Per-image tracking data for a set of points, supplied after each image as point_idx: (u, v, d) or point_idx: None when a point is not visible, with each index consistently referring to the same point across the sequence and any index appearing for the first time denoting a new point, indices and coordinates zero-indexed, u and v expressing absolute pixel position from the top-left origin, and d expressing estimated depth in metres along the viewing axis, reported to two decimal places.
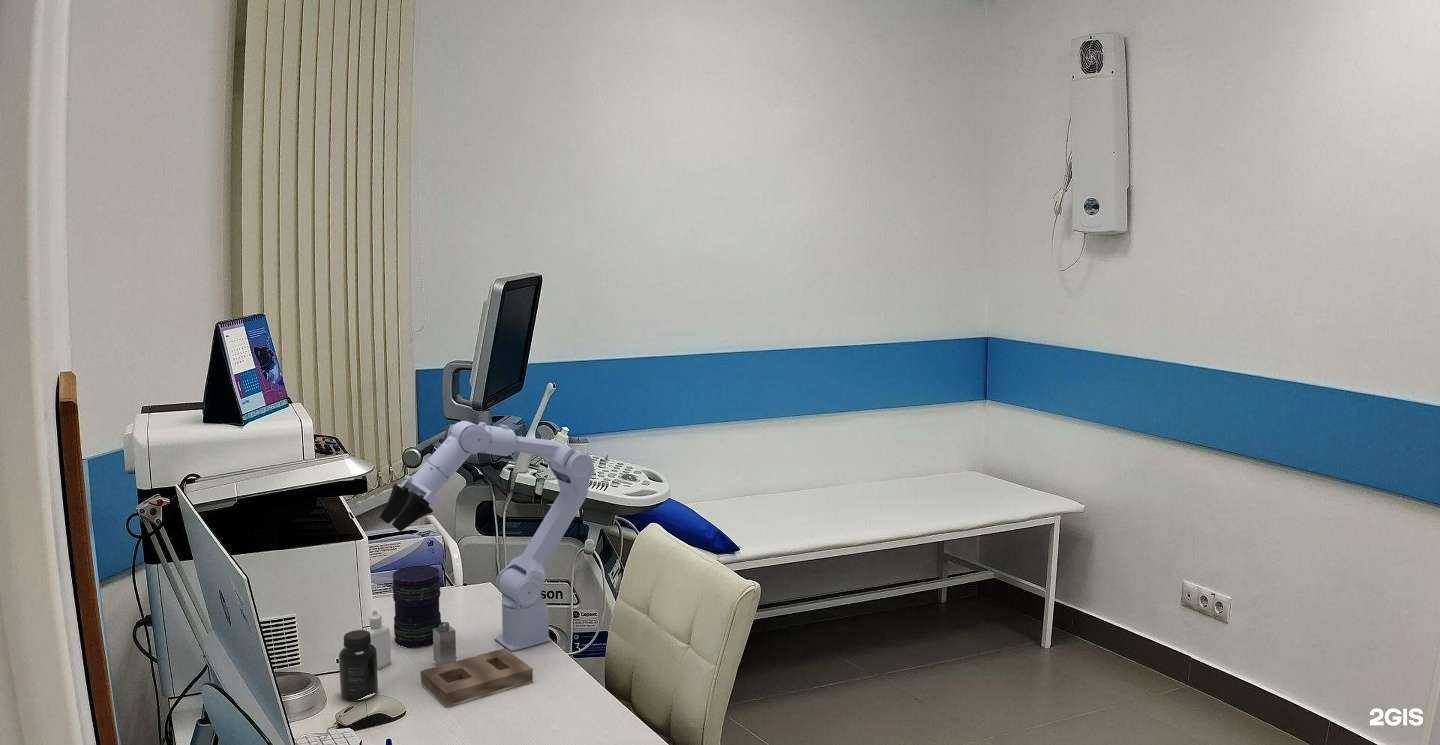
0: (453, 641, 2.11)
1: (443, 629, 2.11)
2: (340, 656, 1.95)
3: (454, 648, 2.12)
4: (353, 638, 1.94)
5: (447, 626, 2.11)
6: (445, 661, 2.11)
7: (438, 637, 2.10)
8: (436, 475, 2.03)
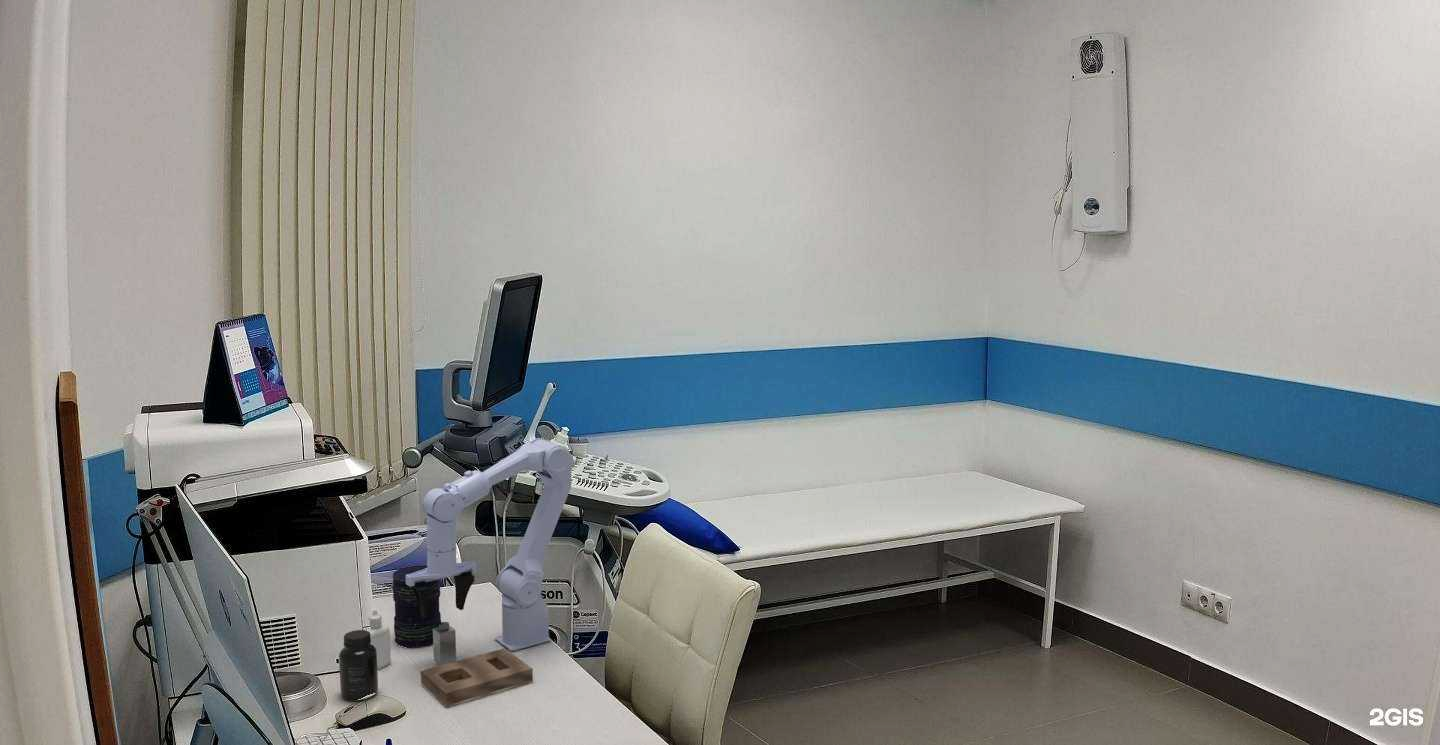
0: (453, 641, 2.11)
1: (443, 629, 2.11)
2: (340, 656, 1.95)
3: (454, 648, 2.12)
4: (353, 638, 1.94)
5: (447, 626, 2.11)
6: (445, 661, 2.11)
7: (438, 637, 2.10)
8: (427, 555, 2.08)
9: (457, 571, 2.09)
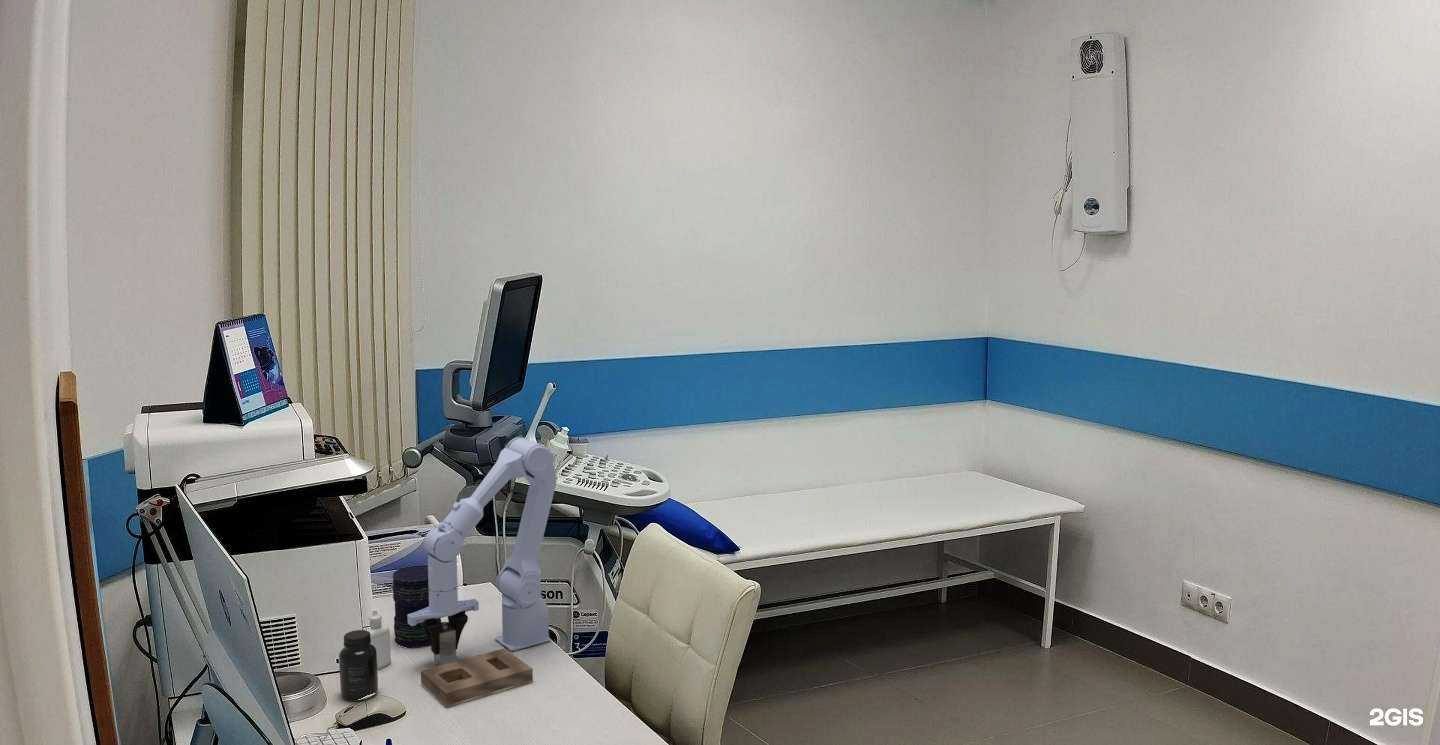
0: (453, 641, 2.11)
1: (443, 629, 2.11)
2: (340, 656, 1.95)
3: (454, 648, 2.12)
4: (353, 638, 1.94)
5: (447, 626, 2.11)
6: (445, 661, 2.11)
7: None
8: (429, 594, 2.09)
9: (458, 610, 2.10)
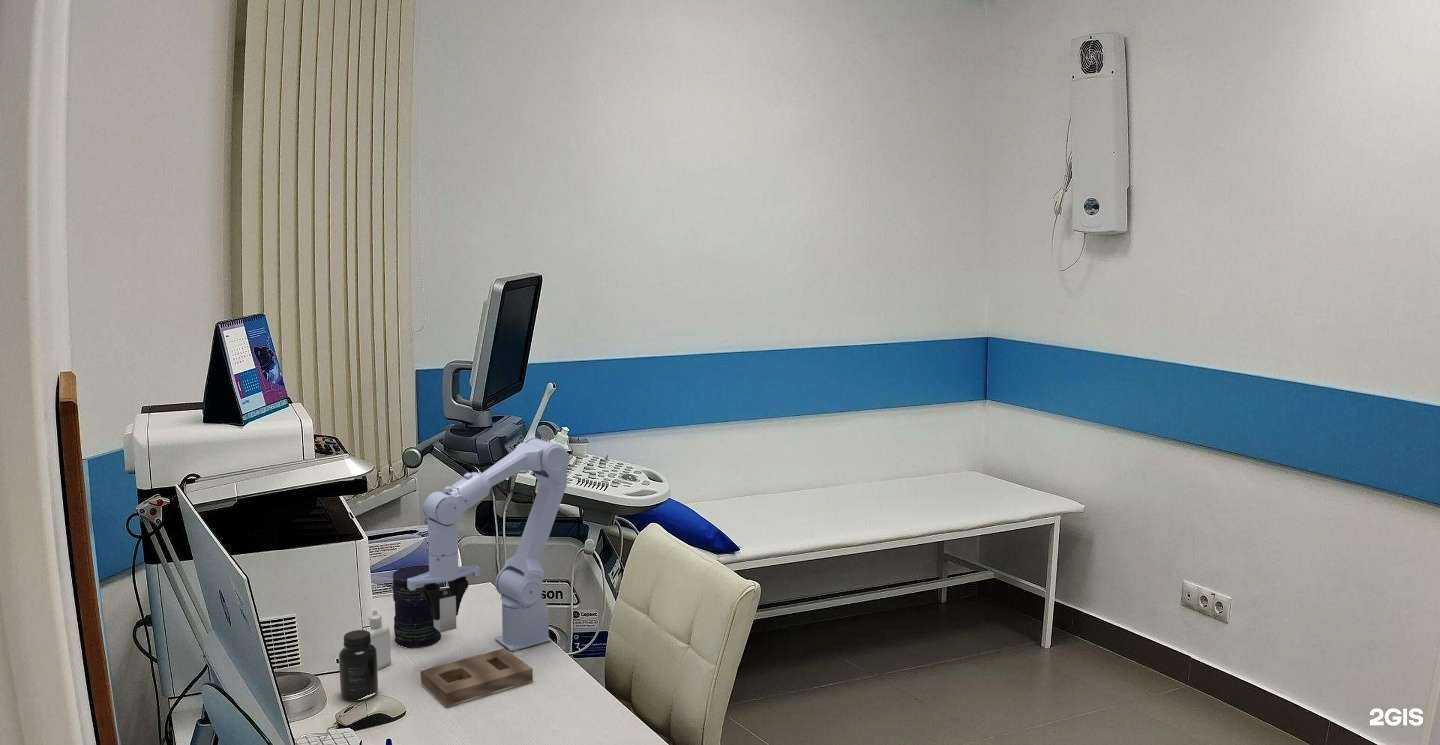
0: (453, 607, 2.09)
1: (443, 594, 2.08)
2: (340, 656, 1.95)
3: (454, 614, 2.09)
4: (353, 638, 1.94)
5: (447, 591, 2.08)
6: (445, 627, 2.08)
7: None
8: (429, 558, 2.06)
9: (459, 575, 2.08)
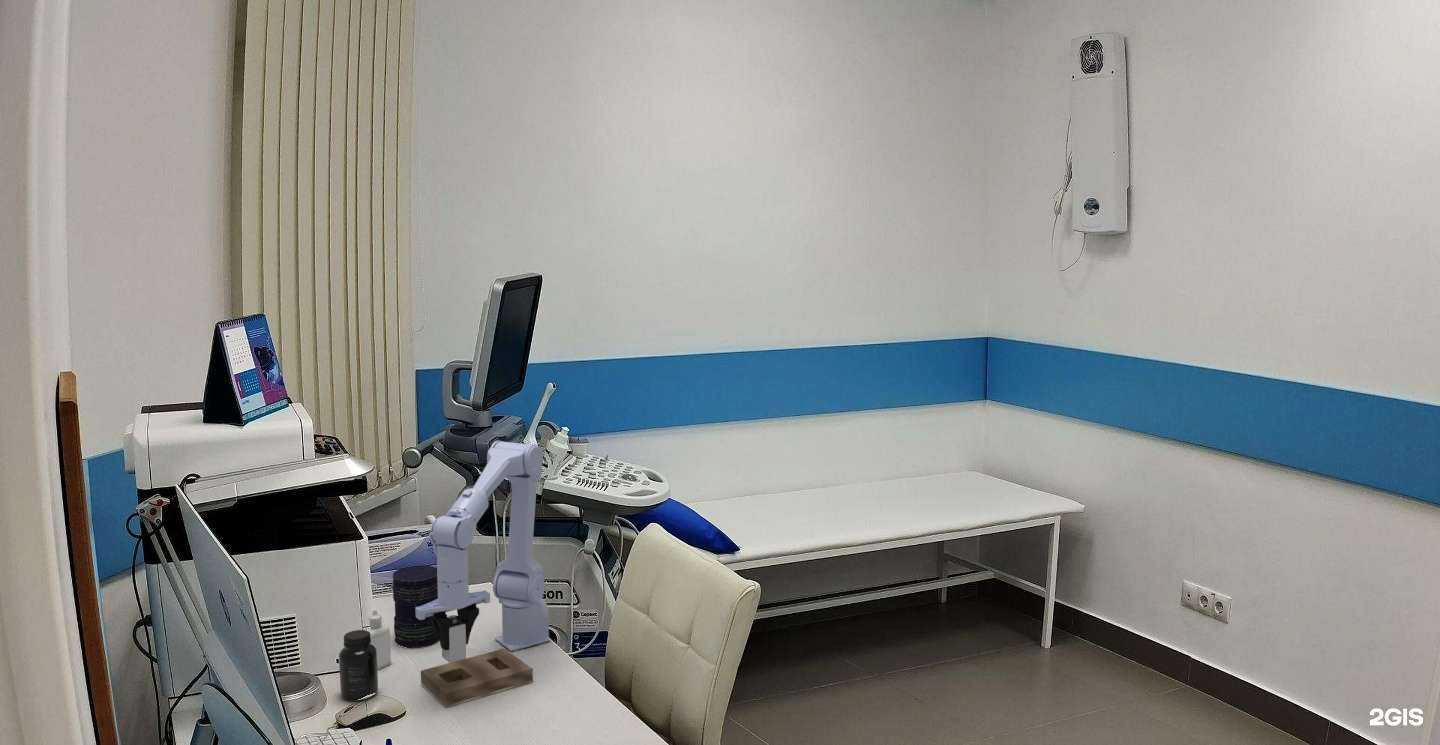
0: (463, 635, 1.98)
1: (452, 623, 1.98)
2: (340, 656, 1.95)
3: (464, 643, 1.99)
4: (353, 638, 1.94)
5: (457, 620, 1.98)
6: (455, 657, 1.98)
7: None
8: (438, 585, 1.96)
9: (470, 602, 1.97)
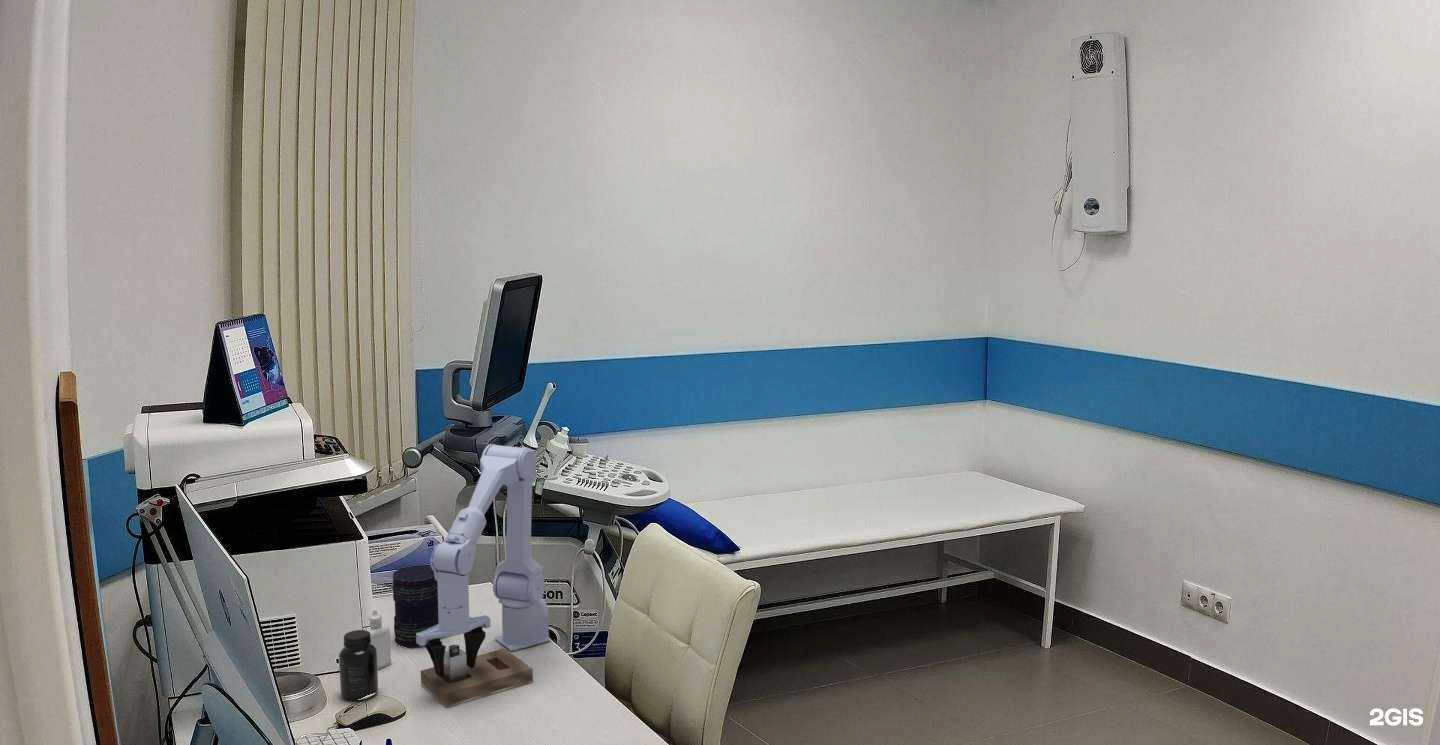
0: (464, 665, 1.99)
1: (453, 652, 1.98)
2: (340, 656, 1.95)
3: (465, 672, 2.00)
4: (353, 638, 1.94)
5: (457, 649, 1.99)
6: None
7: (448, 661, 1.98)
8: (438, 611, 1.97)
9: (470, 627, 1.98)
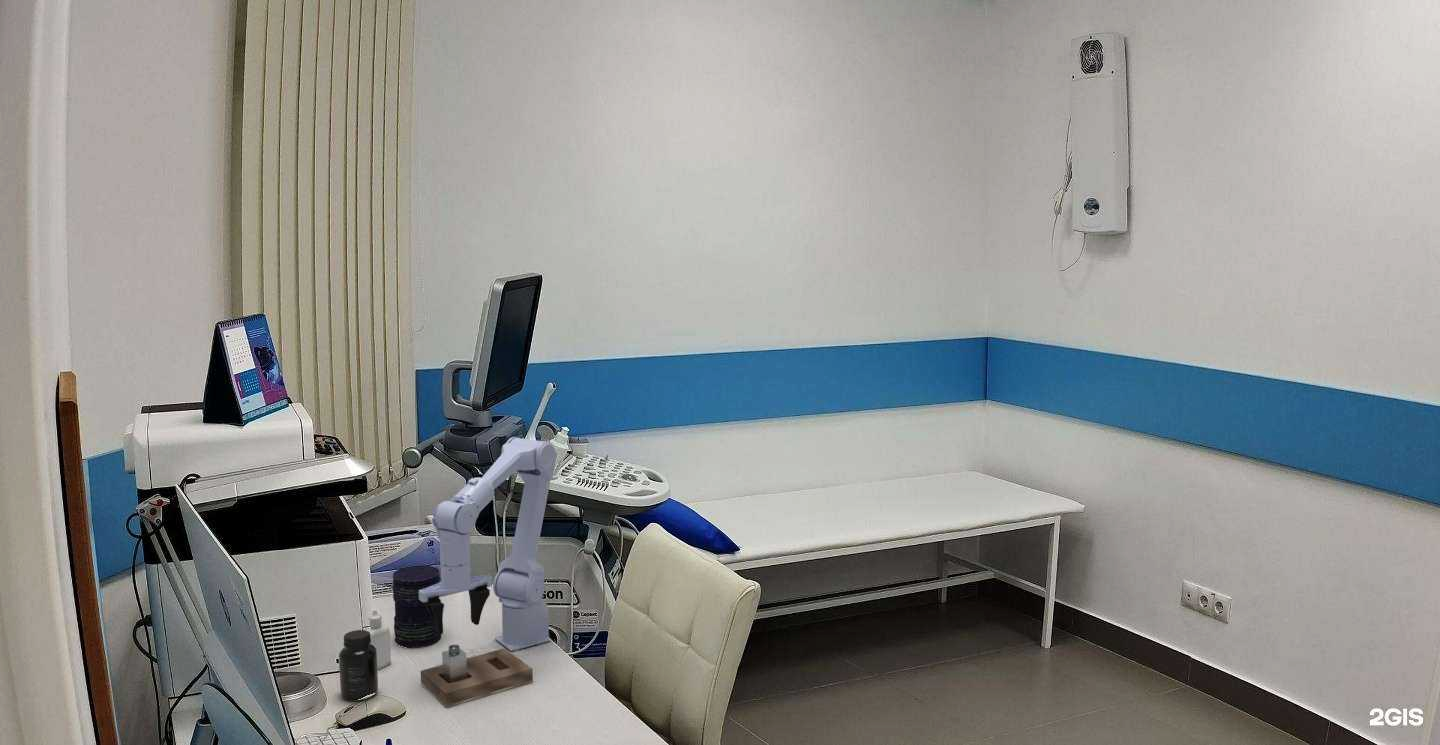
0: (464, 665, 1.99)
1: (453, 652, 1.98)
2: (340, 656, 1.95)
3: (465, 672, 2.00)
4: (353, 638, 1.94)
5: (457, 649, 1.99)
6: None
7: (448, 661, 1.98)
8: None
9: (472, 585, 2.02)
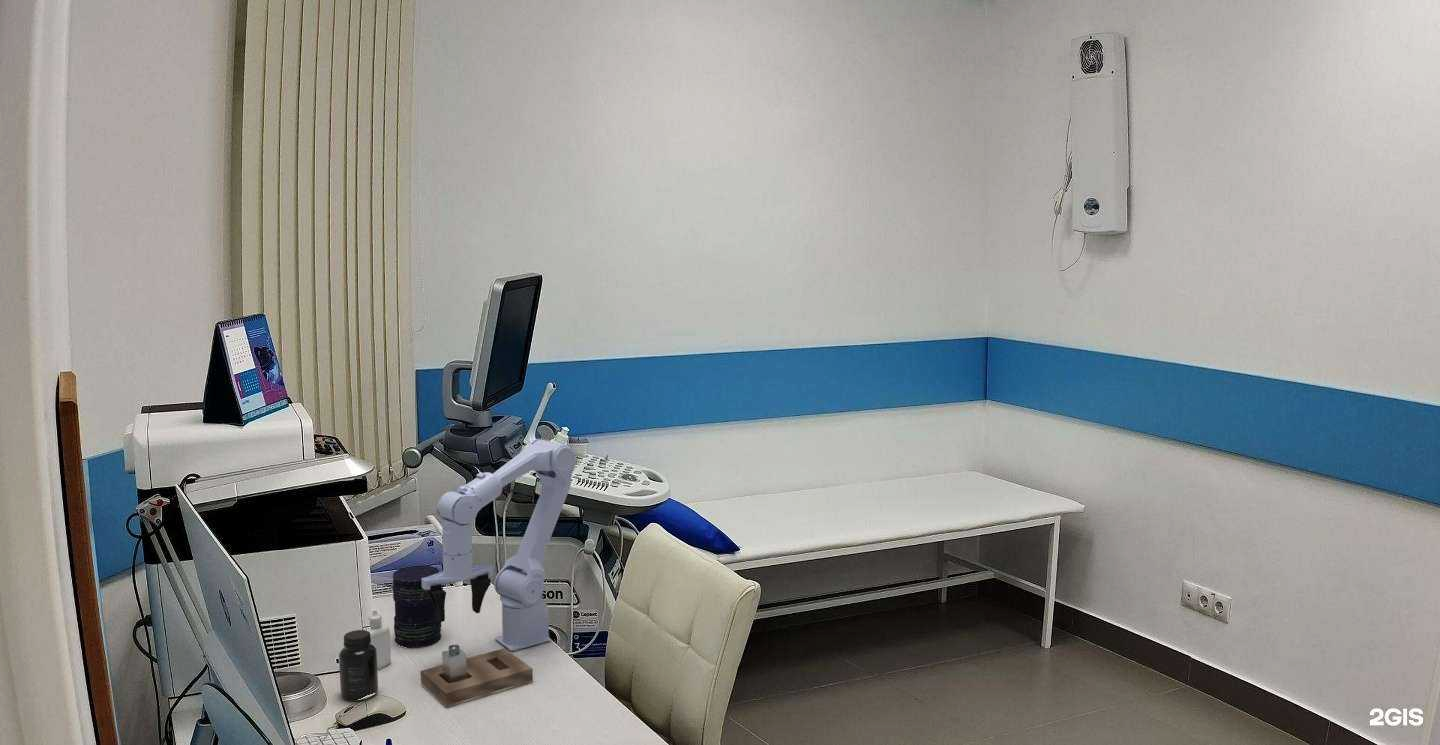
0: (464, 665, 1.99)
1: (453, 652, 1.98)
2: (340, 656, 1.95)
3: (465, 672, 2.00)
4: (353, 638, 1.94)
5: (457, 649, 1.99)
6: None
7: (448, 661, 1.98)
8: (443, 558, 2.07)
9: (473, 574, 2.08)
